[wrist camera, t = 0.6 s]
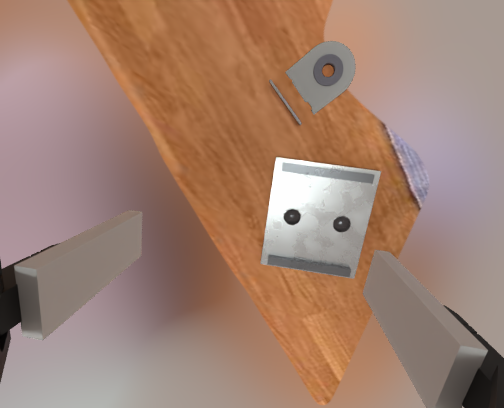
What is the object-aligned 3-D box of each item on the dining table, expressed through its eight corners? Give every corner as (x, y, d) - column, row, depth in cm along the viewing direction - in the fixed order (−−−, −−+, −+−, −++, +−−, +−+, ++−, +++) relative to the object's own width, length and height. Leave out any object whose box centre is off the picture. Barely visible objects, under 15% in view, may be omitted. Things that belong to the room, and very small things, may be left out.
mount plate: (276, 156, 35) (276, 157, 34) (378, 170, 35) (383, 172, 33) (260, 260, 39) (260, 266, 38) (352, 275, 39) (355, 281, 37)
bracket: (363, 76, 33) (373, 68, 29) (298, 126, 35) (300, 125, 31) (334, 31, 32) (341, 18, 28) (269, 86, 34) (268, 80, 31)
